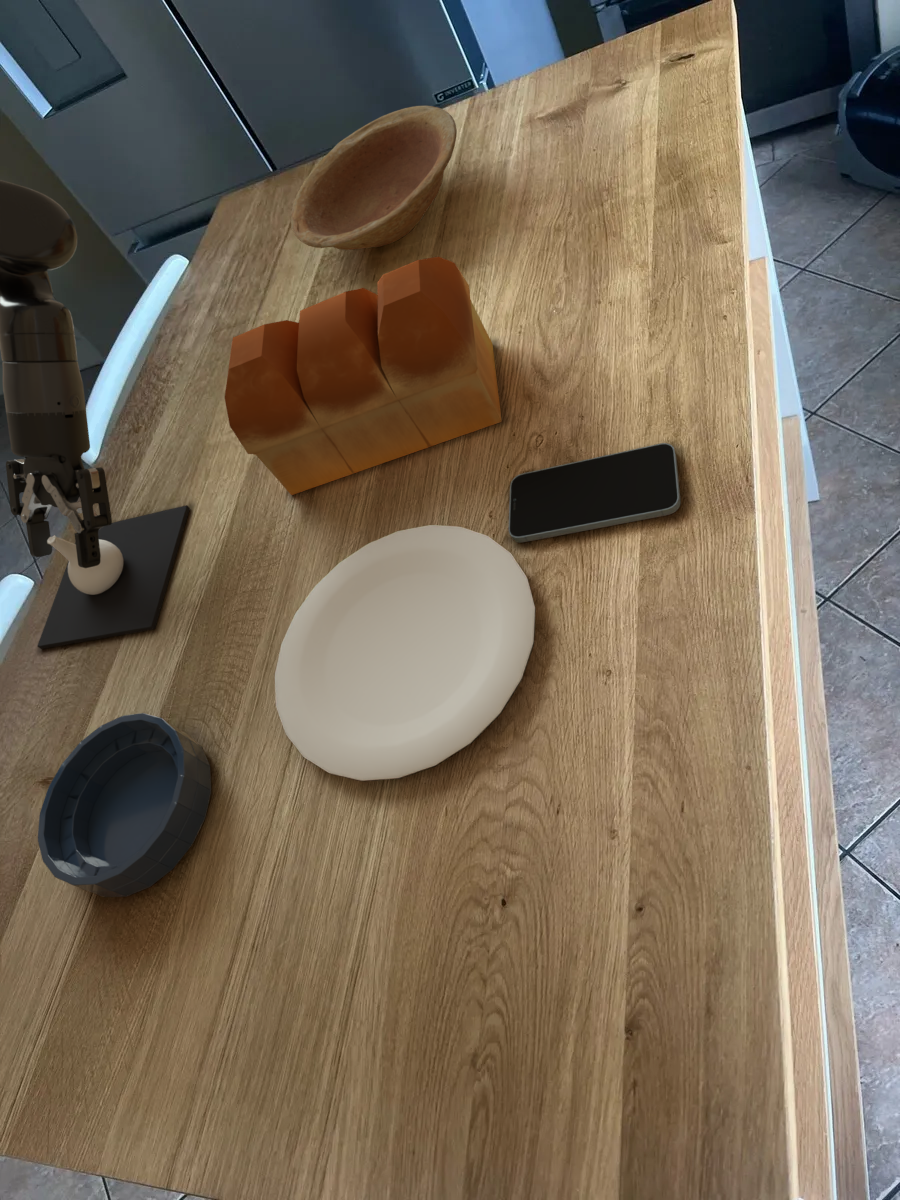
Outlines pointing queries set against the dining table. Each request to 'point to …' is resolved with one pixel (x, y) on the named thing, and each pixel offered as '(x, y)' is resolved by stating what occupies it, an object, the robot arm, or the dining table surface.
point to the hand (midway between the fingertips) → (65, 560)
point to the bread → (364, 377)
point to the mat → (121, 583)
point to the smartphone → (594, 493)
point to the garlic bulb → (92, 577)
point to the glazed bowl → (124, 806)
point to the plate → (405, 653)
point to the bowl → (376, 181)
